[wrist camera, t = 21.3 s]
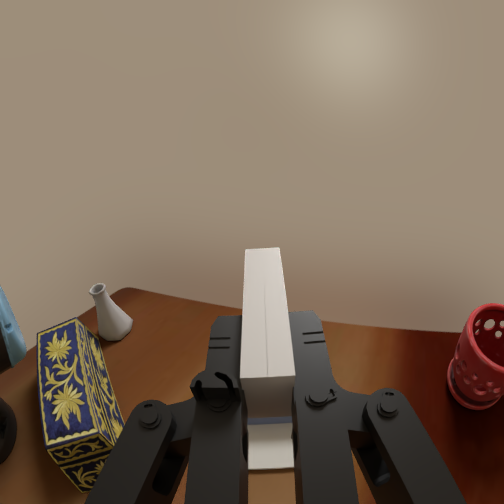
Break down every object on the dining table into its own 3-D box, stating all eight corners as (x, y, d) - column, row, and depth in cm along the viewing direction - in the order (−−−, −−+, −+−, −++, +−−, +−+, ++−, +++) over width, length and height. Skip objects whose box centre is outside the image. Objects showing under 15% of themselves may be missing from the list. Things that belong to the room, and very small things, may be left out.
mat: (335, 462, 27) (335, 461, 27) (220, 469, 28) (219, 468, 28) (315, 342, 45) (315, 339, 45) (229, 347, 46) (228, 345, 45)
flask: (122, 345, 47) (101, 304, 42) (94, 338, 48) (72, 299, 43) (139, 318, 53) (122, 277, 48) (111, 314, 54) (93, 274, 49)
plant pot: (451, 343, 39) (476, 290, 33) (506, 370, 31) (540, 320, 25) (425, 399, 32) (458, 347, 26) (490, 431, 24) (536, 384, 17)
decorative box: (99, 338, 49) (79, 303, 44) (148, 476, 27) (117, 455, 22) (55, 356, 44) (32, 323, 39) (84, 496, 22) (43, 476, 17)
